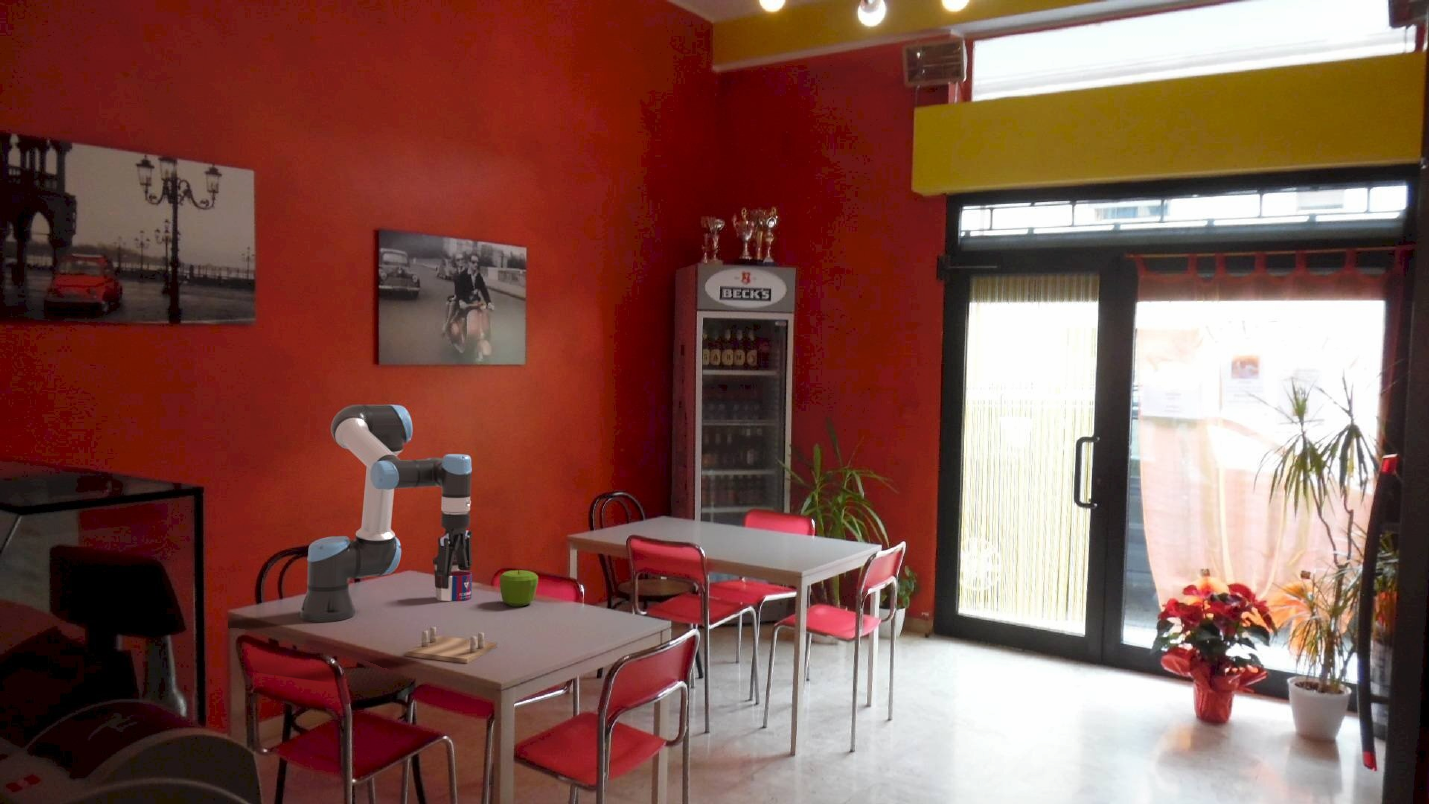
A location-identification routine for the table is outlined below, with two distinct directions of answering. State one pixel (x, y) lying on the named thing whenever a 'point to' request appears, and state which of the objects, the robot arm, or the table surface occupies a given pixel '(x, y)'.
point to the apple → (518, 587)
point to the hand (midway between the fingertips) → (453, 597)
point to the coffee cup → (438, 578)
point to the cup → (461, 585)
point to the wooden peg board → (451, 647)
